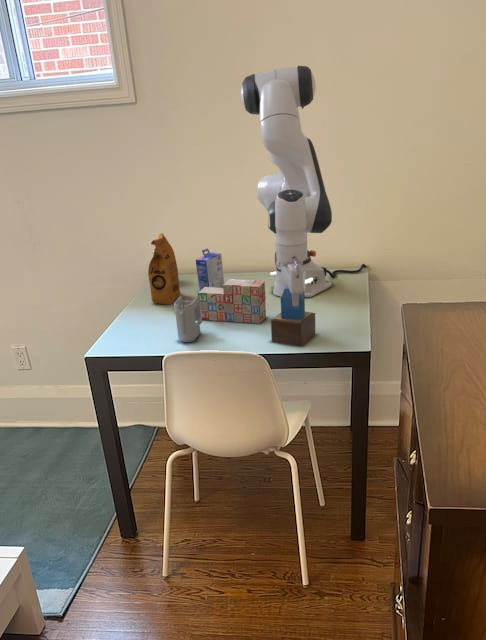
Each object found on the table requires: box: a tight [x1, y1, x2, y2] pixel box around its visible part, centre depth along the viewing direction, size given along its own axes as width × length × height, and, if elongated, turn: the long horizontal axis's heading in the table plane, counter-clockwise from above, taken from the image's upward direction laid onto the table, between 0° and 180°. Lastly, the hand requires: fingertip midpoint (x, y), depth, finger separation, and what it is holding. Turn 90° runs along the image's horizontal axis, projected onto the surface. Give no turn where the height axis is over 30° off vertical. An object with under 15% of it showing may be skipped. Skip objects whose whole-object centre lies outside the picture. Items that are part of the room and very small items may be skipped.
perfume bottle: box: [280, 278, 306, 319], centre depth 196 cm, size 6×6×12 cm
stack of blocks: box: [197, 278, 267, 325], centre depth 218 cm, size 21×6×12 cm, turn 71°
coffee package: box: [147, 232, 181, 305], centre depth 237 cm, size 10×12×22 cm
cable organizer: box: [173, 295, 203, 343], centre depth 207 cm, size 7×12×12 cm, turn 168°
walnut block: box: [270, 310, 316, 347], centre depth 202 cm, size 10×10×7 cm
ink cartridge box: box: [195, 248, 225, 291], centre depth 246 cm, size 10×6×14 cm, turn 147°
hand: (292, 300), depth 197 cm, fingers open, 8 cm apart
